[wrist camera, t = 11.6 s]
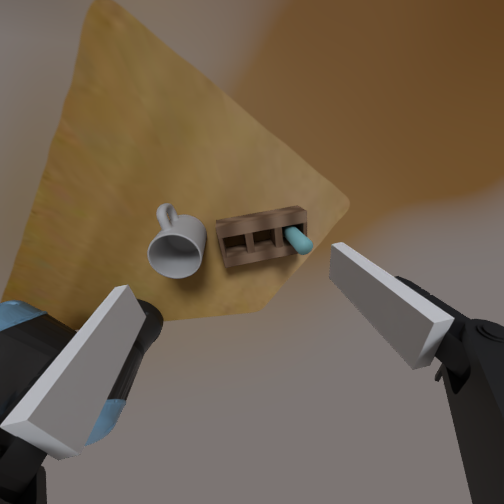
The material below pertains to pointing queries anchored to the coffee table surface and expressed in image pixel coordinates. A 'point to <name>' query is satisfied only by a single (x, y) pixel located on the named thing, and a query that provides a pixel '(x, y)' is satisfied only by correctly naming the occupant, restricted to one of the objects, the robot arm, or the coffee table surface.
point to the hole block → (260, 222)
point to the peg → (297, 239)
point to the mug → (177, 244)
